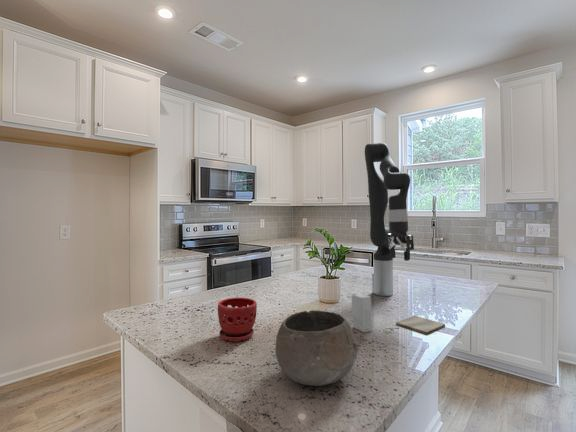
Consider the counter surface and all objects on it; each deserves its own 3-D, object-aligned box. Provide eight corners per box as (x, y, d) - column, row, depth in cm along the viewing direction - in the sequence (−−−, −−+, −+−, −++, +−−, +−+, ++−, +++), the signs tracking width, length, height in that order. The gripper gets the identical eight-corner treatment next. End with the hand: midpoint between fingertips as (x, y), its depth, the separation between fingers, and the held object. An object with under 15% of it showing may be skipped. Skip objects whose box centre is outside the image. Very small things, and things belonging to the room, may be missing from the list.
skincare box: (372, 330, 112) (372, 296, 111) (362, 333, 110) (362, 298, 109) (361, 325, 117) (361, 292, 117) (351, 327, 115) (351, 294, 115)
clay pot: (296, 410, 68) (295, 341, 68) (264, 367, 87) (263, 312, 87) (375, 387, 77) (374, 325, 76) (330, 351, 96) (329, 302, 95)
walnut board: (396, 324, 117) (396, 322, 117) (414, 317, 124) (414, 315, 124) (426, 334, 107) (426, 332, 107) (445, 326, 114) (445, 324, 114)
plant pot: (240, 347, 100) (239, 310, 99) (210, 339, 107) (209, 304, 106) (264, 333, 111) (264, 299, 110) (236, 326, 118) (235, 294, 117)
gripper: (380, 220, 138) (381, 258, 138) (402, 220, 124) (404, 262, 125) (394, 220, 140) (395, 256, 140) (417, 220, 127) (419, 260, 127)
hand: (399, 259), depth 132 cm, fingers open, 8 cm apart
